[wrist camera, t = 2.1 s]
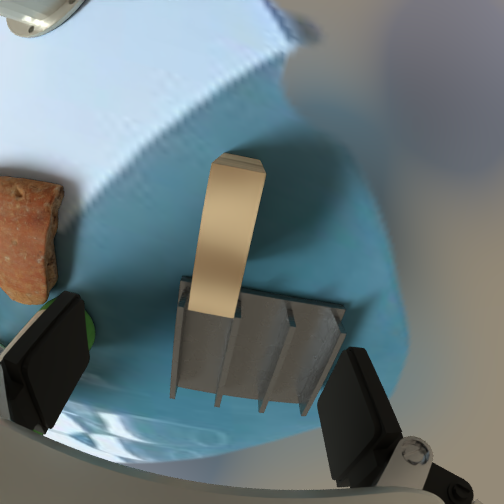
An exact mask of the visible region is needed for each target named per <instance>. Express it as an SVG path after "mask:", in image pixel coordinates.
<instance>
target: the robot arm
mask: <svg viewBox="0 0 504 504" xmlns="http://www.w3.org/2000/svg"><path fill="white" fill-rule="evenodd" d="M83 2H84V0H0V16H3V17H6V21H7V25H8V27H9V29H10V31H11V32H12V33H14V34H15V35H17V36H20V37H25V38H33V37H38V36H41V35H44V34H46V33H48V32H49V31H51V30H53V29H55V28H56V27H58V26H59V25H60V24H62V23H63V22H64V21H65V20H67V19H68V18H69V17H70V16H71V15H72V14H73V13H74V12H75V11H76V10H77V9H78V8H79V7H80V5H81V4H82V3H83ZM89 358H90V355H89V347H88V339H87V330H86V320H85V307H84V301H83V300H82V299H81V298H80V295H78V294H75V293H72V292H68V291H64V292H62V293H61V294H60V295H59V296H58V298H57V299H56V300H55V301H54V302H53V303H52V304H51V305H50V306H49V307H48V308H47V309H46V310H45V311H44V312H43V313H42V314H41V315H40V316H39V317H38V318H37V319H36V321H35V322H34V323H33V324H32V325H31V326H30V327H29V328H28V329H27V330H26V332H25V333H24V334H23V335H22V336H21V337H20V338H19V339H18V340H17V342H16V343H15V344H14V345H13V346H12V347H11V349H10V350H9V351H8V352H7V353H6V354H5V356H4V357H3V359H2V360H1V361H0V504H482V503H481V502H480V501H479V500H478V499H476V500H475V501H474V500H473V490H472V487H471V486H470V484H469V483H468V482H467V481H465V480H464V479H462V478H460V477H458V476H457V475H455V474H453V473H451V472H449V471H447V470H445V469H444V468H442V467H440V466H438V465H436V464H435V463H433V462H432V461H433V452H432V450H431V448H430V446H429V445H428V444H427V443H426V442H425V441H424V440H422V439H421V438H418V437H414V436H408V437H404V438H403V436H402V433H401V432H402V430H401V428H400V426H399V423H398V421H397V419H396V416H395V414H394V412H393V409H392V407H391V405H390V402H389V400H388V398H387V395H386V393H385V391H384V389H383V386H382V384H381V382H380V380H379V377H378V375H377V373H376V371H375V369H374V367H373V364H372V362H371V360H370V358H369V356H368V354H367V351H366V350H365V349H364V348H358V347H349V348H348V349H347V350H344V351H343V352H342V353H341V355H340V357H339V359H338V362H337V364H336V366H335V368H334V370H333V372H332V374H331V376H330V378H329V380H328V382H327V384H326V386H325V388H324V390H323V392H322V393H321V395H320V397H319V399H318V403H317V408H318V413H319V418H320V422H321V427H322V432H323V437H324V442H325V447H326V452H327V457H328V462H329V467H330V471H331V476H332V479H333V480H336V483H337V487H348V486H350V488H349V489H330V490H270V489H252V488H241V487H231V486H222V485H214V484H207V483H201V482H194V481H189V480H183V479H178V478H173V477H168V476H164V475H159V474H155V473H151V472H147V471H143V470H139V469H135V468H131V467H128V466H124V465H120V464H118V463H114V462H111V461H108V460H105V459H102V458H99V457H96V456H93V455H90V454H87V453H85V452H82V451H79V450H77V449H74V448H71V447H69V446H67V445H64V444H61V443H59V442H57V441H54V440H52V439H49V438H47V437H45V436H43V435H40V434H38V433H36V432H34V431H33V430H36V431H38V432H40V433H42V434H46V432H47V430H48V428H50V429H52V428H53V427H54V425H55V423H56V421H57V419H58V417H59V415H60V414H61V412H62V410H63V408H64V406H65V404H66V402H67V401H68V399H69V397H70V395H71V393H72V392H73V390H74V388H75V386H76V384H77V383H78V381H79V379H80V377H81V376H82V374H83V372H84V371H85V369H86V367H87V365H88V363H89Z"/></svg>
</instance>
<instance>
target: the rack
mask: <svg viewBox="0 0 504 504" xmlns="http://www.w3.org/2000/svg"><path fill="white" fill-rule="evenodd" d="M191 284H192V278H189V277H184V276H182V278H181V281H180V289H179V298H178V306H177V315H176V325H175V335H174V346H173V358H172V371H171V385H170V398H172V399H175V396H176V392H177V388H178V387H182V388H187V389H192V390H198V391H203V392H209V393H215V394H216V395H215V405H214V407H220V403H221V399H222V395H228V396H234V397H241V398H249V399H257V400H258V408H259V413H264V411H265V409H266V406H267V404H268V401H276V402H286V403H299V407H300V413H301V416H306V415H307V413H308V411H309V409H310V407H311V405H312V404H313V402H314V400H315V398H316V396H317V394H318V392H319V390H320V388H321V386H322V384H323V382H324V380H325V378H326V376H327V374H328V372H329V370H330V368H331V366H332V364H333V362H334V360H335V358H336V356H337V354H338V351H339V349H340V347H341V345H342V343H343V341H344V338H345V336H346V331H345V329H344V327H343V325H342V322H341V320H342V318H343V315H344V313H345V310H346V309H345V307H344V305H341V304H335V303H329V302H322V301H316V300H310V299H304V298H298V297H292V296H286V295H281V294H275V293H269V292H263V291H258V290H252V289H247V288H241V287H240V292H239V296H238V301H237V305H236V310H235V314H234V318H228V317H223V316H217V315H212V314H207V313H202V312H196V311H191V310H188V306H189V298H190V291H191Z"/></svg>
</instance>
